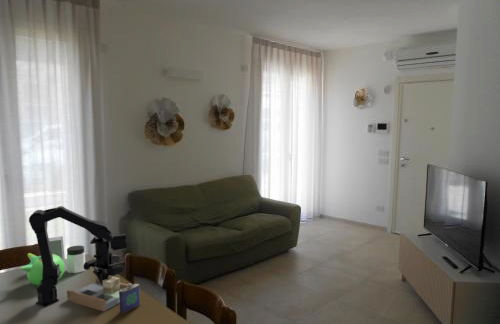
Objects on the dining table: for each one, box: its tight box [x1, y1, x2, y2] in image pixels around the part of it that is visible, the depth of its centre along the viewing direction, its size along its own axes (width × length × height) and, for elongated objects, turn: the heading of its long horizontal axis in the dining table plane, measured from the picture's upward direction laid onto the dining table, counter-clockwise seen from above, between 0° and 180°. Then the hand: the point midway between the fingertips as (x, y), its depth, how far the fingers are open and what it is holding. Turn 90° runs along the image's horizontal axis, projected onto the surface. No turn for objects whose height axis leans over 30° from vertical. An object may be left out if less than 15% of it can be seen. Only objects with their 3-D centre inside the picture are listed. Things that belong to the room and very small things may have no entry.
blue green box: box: [119, 282, 141, 314], centre depth 151 cm, size 9×3×11 cm, turn 144°
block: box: [103, 275, 121, 294], centre depth 162 cm, size 5×5×5 cm
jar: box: [66, 245, 86, 274], centre depth 192 cm, size 9×8×12 cm
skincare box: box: [48, 236, 66, 266], centre depth 197 cm, size 8×7×16 cm
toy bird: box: [19, 252, 65, 287], centre depth 176 cm, size 18×17×15 cm
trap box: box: [66, 276, 129, 312], centre depth 161 cm, size 16×22×4 cm
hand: (104, 285), depth 165 cm, fingers closed
